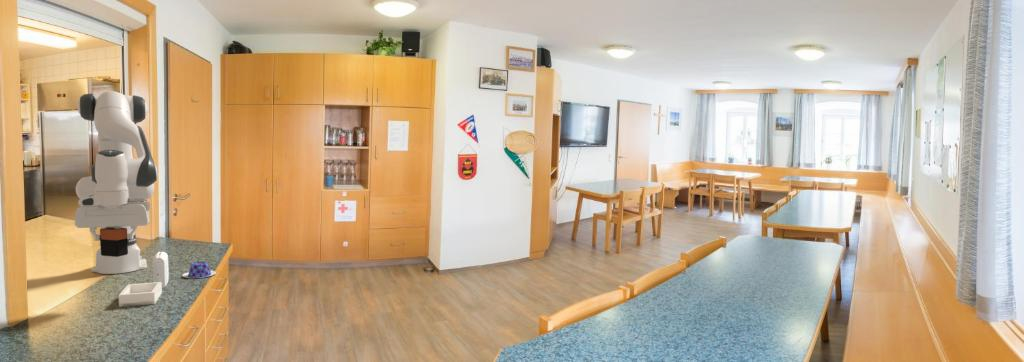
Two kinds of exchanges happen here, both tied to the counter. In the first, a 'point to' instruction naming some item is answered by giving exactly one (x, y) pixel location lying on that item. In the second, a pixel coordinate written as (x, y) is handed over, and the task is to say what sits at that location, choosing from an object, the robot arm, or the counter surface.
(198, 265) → the pudding
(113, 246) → the battery
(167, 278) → the photo printer
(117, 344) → the counter surface
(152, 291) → the trough
